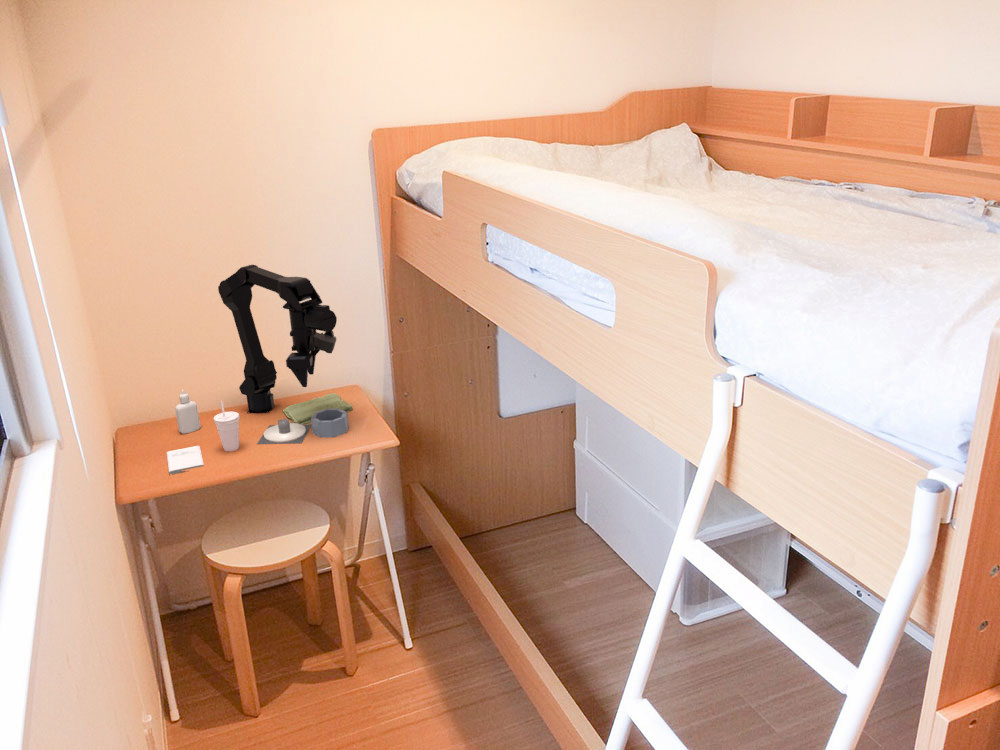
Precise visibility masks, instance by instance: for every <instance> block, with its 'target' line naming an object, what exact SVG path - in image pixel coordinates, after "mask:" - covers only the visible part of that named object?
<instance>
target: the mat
mask: <svg viewBox="0 0 1000 750" xmlns="http://www.w3.org/2000/svg"><path fill="white" fill-rule="evenodd" d="M275 425H276V424H270V425H269V426H268V427H267V428H266V430H267V429H268V428H270V427H272V426H275ZM303 426H304V427H305V428H306V433H305V435H304V436H302V437H301V438H299V439H297V440H294V441H290V442H284V443H274V442H269V441H267V440H266V439H265V438H264V433H263V434H262V436H261V437H260V438H259V440H258V441H257V443H256V445H291V444H293V445H294V444H295V445H296V444H301V445H302V444H303V443H304V440H305V438H306V437H307V435H308V433H309V431H310V429H312V425H311V423H308V424H303Z"/></svg>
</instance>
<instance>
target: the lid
mask: <svg viewBox="0 0 1000 750" xmlns="http://www.w3.org/2000/svg"><path fill="white" fill-rule="evenodd" d="M274 425H275V426H272V427H270V428H268V427H267V428H268V429H267V428H266V430H264V432H263V434H264V438H265V439H266V440H267V441H269V442H274V443H284V442H290V441H294V440H297V439H299V438H301V437H302V436H304V435H305V433H306V428H305V427H304V426H303V425H304V424H303V425H302V424H301V423H300V424H298V423H294V422H290V419H288V418H281V419H279V420H278V421H277V424H274Z"/></svg>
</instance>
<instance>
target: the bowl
mask: <svg viewBox="0 0 1000 750" xmlns="http://www.w3.org/2000/svg"><path fill="white" fill-rule="evenodd" d="M348 417H349V416H348V412H346V411H343V410H341V409H324V410H321V411H318V412H315V413H314V414H313V416H312V417H311V423H310V424H311V425H312V426H311V431H312V435H314V436H316V437H318V438H324V439H325V438H336V437H339V436H341V435H344V434H347V432H348V429H349V418H348Z"/></svg>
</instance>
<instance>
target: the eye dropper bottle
mask: <svg viewBox="0 0 1000 750" xmlns="http://www.w3.org/2000/svg"><path fill="white" fill-rule="evenodd" d="M179 402H180V403H178V404H177V405H176V406H175V407H174V409H175V416H176V422H177V426H178V427H177V428H178V432H179V433H181V434H182V435H183V434H189V433H194V432H196V431H198V430H199V429H200V428H201V427H202V426H201V422H200V415H199V410H198V405H197V403H196V402H195V401H194V400H193V401H192V400H191V399H190V396H189V393H186V391H185V389H182V390H181V392H180V394H179Z"/></svg>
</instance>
